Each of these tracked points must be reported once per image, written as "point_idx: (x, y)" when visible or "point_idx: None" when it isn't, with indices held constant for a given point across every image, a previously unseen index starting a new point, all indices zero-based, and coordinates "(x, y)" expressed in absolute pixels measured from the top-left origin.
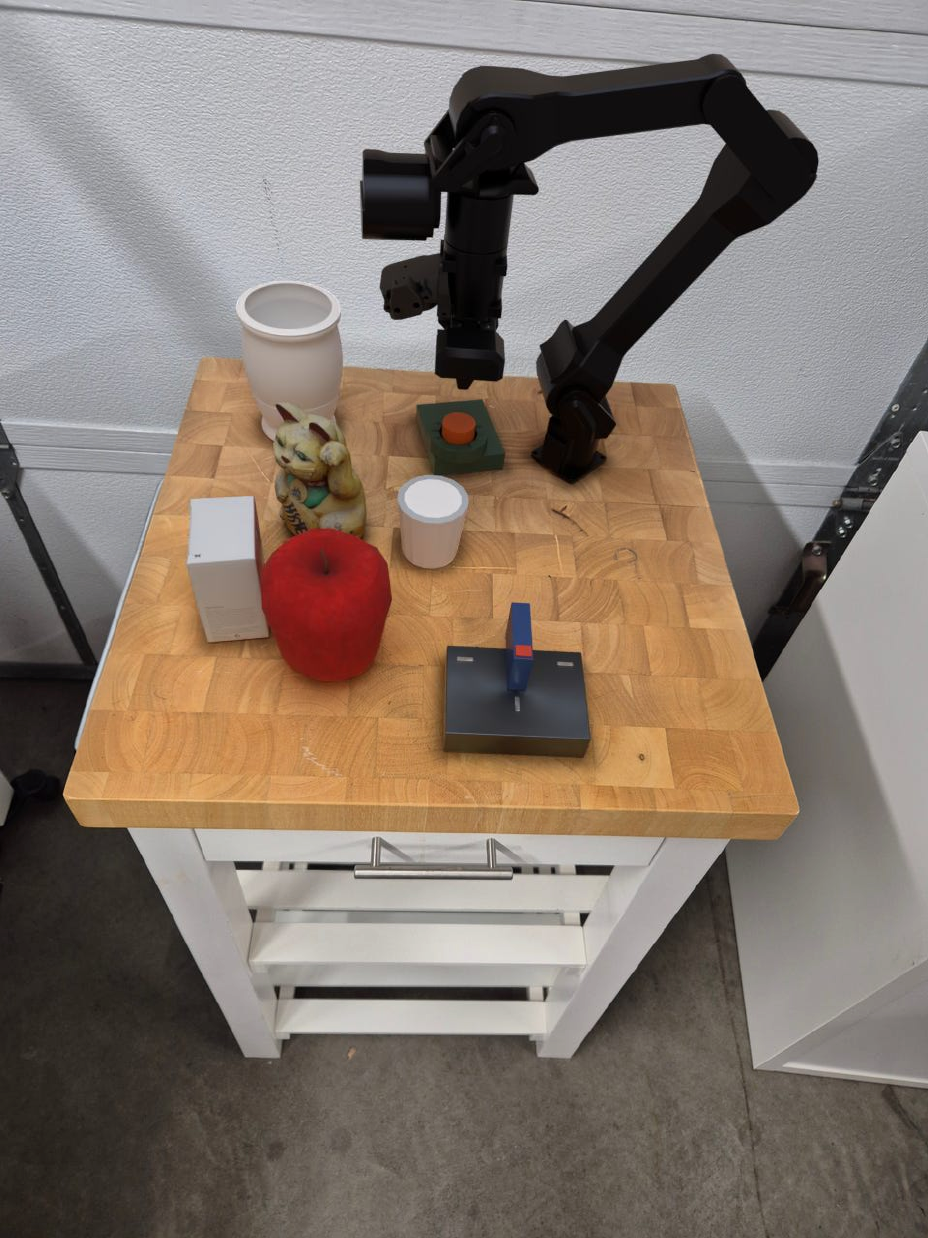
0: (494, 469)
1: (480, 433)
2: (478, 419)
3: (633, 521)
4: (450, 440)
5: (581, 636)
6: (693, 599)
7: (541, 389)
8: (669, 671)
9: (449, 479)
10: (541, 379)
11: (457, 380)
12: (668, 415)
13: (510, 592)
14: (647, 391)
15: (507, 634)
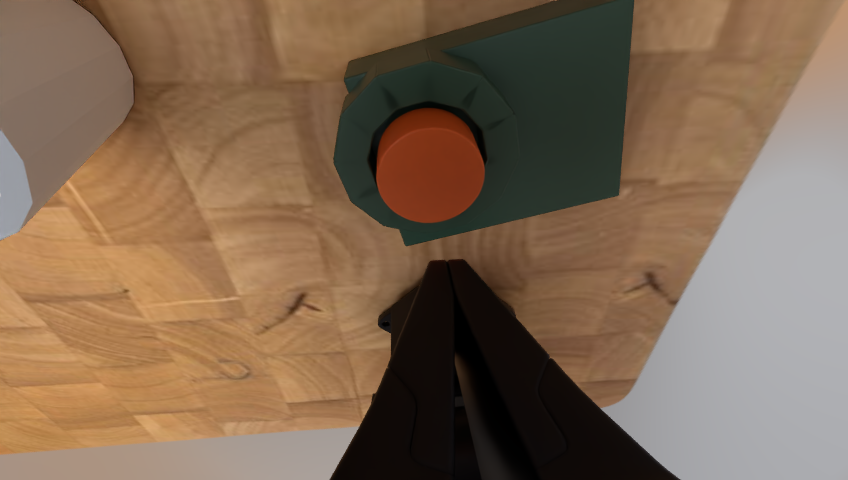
0: None
1: None
2: (533, 189)
3: (312, 377)
4: (381, 141)
5: (17, 327)
6: (186, 418)
7: (461, 427)
8: (36, 400)
9: (24, 190)
10: (469, 456)
11: (415, 297)
12: None
13: (37, 237)
14: (611, 393)
15: None
